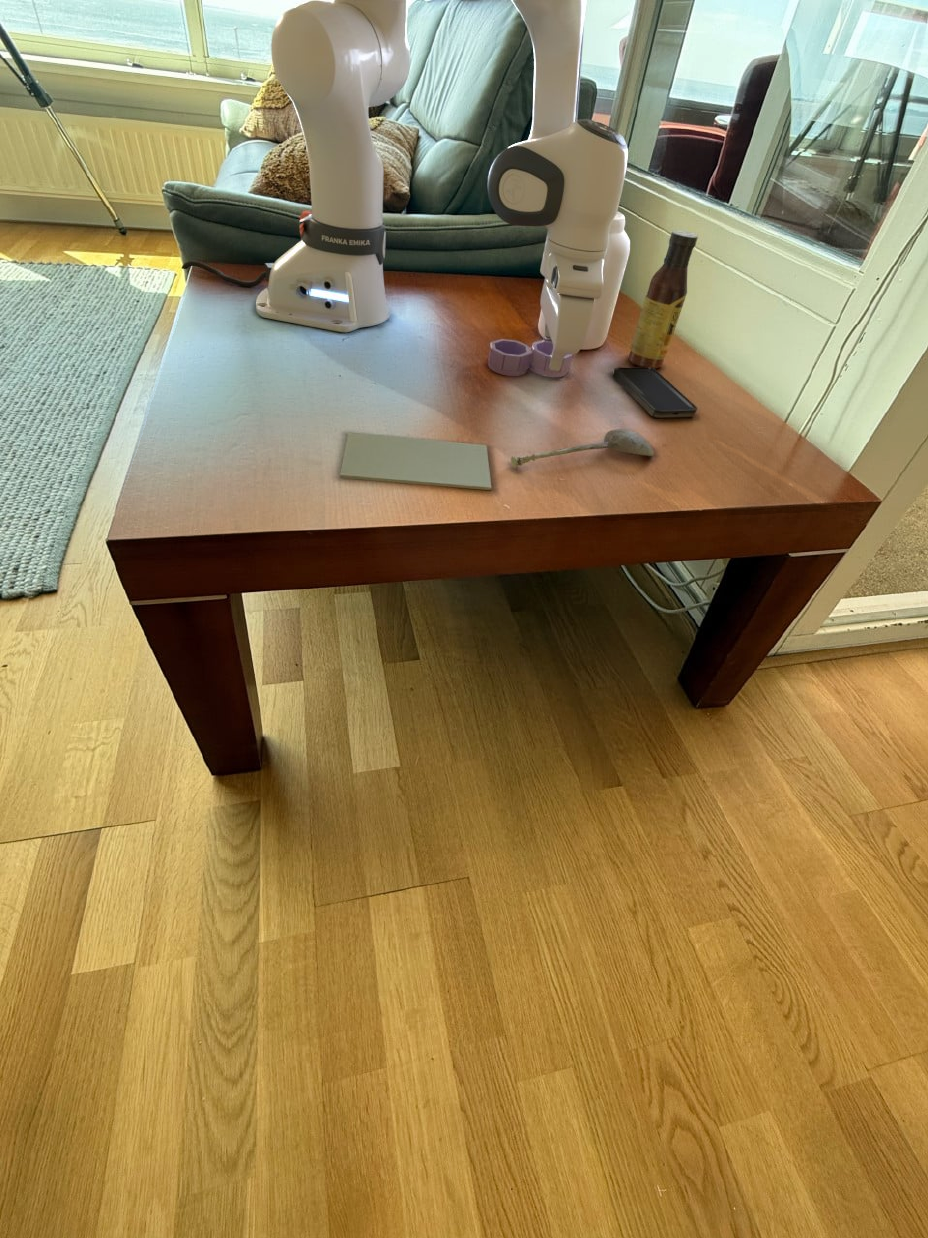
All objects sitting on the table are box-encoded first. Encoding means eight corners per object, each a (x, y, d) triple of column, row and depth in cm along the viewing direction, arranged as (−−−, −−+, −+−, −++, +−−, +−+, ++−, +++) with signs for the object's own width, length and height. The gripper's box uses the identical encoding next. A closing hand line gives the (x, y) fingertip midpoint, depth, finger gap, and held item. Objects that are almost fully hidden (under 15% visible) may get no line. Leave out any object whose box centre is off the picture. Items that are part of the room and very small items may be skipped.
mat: (340, 477, 74) (339, 474, 74) (348, 434, 81) (348, 432, 81) (491, 490, 76) (491, 487, 76) (486, 447, 83) (486, 444, 83)
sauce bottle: (662, 373, 108) (707, 243, 94) (626, 366, 108) (666, 235, 94) (661, 358, 112) (704, 232, 98) (627, 351, 113) (665, 225, 99)
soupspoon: (661, 465, 87) (633, 443, 91) (669, 442, 84) (640, 420, 89) (523, 481, 78) (499, 455, 82) (528, 456, 76) (503, 431, 80)
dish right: (530, 374, 100) (535, 354, 98) (526, 357, 104) (530, 338, 102) (570, 379, 101) (575, 359, 98) (564, 362, 105) (569, 342, 103)
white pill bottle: (589, 357, 109) (624, 225, 95) (525, 336, 112) (549, 205, 98) (614, 337, 117) (649, 213, 103) (553, 318, 120) (579, 195, 106)
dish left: (489, 373, 99) (492, 353, 97) (486, 356, 104) (489, 337, 102) (529, 377, 100) (532, 357, 98) (524, 361, 104) (528, 341, 102)
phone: (652, 367, 106) (700, 409, 96) (650, 373, 107) (697, 416, 97) (611, 367, 104) (655, 411, 94) (609, 374, 105) (653, 418, 95)
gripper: (542, 240, 98) (525, 330, 108) (560, 284, 84) (538, 384, 94) (581, 245, 99) (560, 334, 109) (606, 290, 85) (579, 388, 94)
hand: (550, 358), depth 101 cm, fingers closed on dish right, 6 cm apart
